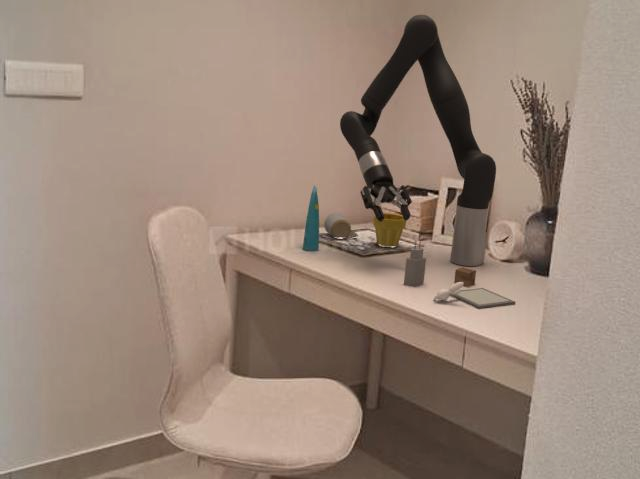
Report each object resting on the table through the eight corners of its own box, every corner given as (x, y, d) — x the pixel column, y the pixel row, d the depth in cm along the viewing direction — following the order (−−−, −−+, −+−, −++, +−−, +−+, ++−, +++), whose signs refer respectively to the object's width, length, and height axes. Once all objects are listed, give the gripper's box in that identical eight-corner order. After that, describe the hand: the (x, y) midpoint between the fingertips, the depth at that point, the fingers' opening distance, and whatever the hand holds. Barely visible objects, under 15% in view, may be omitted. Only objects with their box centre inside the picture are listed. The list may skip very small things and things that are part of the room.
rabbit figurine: (429, 297, 178) (458, 283, 179) (437, 311, 177) (465, 297, 177) (431, 291, 172) (461, 277, 173) (439, 305, 171) (468, 291, 172)
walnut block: (461, 281, 195) (463, 267, 194) (474, 284, 192) (476, 270, 191) (454, 283, 192) (455, 269, 191) (467, 287, 189) (468, 273, 188)
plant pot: (405, 250, 224) (408, 220, 222) (372, 248, 224) (374, 218, 222) (401, 243, 234) (404, 214, 232) (370, 241, 234) (373, 211, 232)
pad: (482, 290, 187) (482, 287, 187) (515, 304, 177) (515, 301, 177) (446, 294, 182) (447, 291, 181) (478, 308, 171) (479, 306, 171)
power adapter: (424, 284, 189) (429, 240, 186) (411, 287, 186) (416, 242, 183) (415, 281, 191) (420, 237, 189) (402, 284, 188) (406, 239, 185)
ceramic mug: (330, 240, 231) (332, 217, 229) (323, 234, 238) (325, 212, 237) (360, 241, 234) (363, 218, 232) (352, 235, 241) (355, 213, 240)
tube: (320, 252, 215) (325, 189, 210) (305, 252, 213) (309, 188, 209) (315, 246, 222) (320, 185, 217) (300, 246, 221) (304, 184, 216)
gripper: (360, 163, 195) (379, 212, 188) (402, 163, 202) (422, 211, 195) (348, 179, 201) (367, 227, 193) (389, 178, 208) (409, 225, 201)
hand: (395, 219), depth 194 cm, fingers open, 8 cm apart
